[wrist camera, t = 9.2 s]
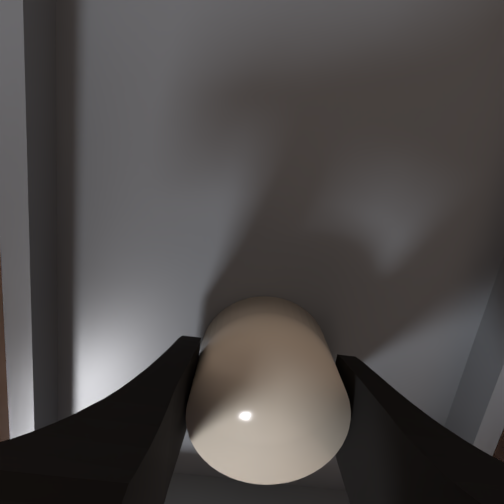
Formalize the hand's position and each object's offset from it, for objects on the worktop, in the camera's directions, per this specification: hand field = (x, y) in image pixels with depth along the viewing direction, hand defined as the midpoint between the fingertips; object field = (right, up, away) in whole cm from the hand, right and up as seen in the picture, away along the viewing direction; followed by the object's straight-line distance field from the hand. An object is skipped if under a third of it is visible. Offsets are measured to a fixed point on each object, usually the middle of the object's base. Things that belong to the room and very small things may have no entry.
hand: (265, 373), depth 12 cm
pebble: (0, 0, +1) cm, 1 cm away
